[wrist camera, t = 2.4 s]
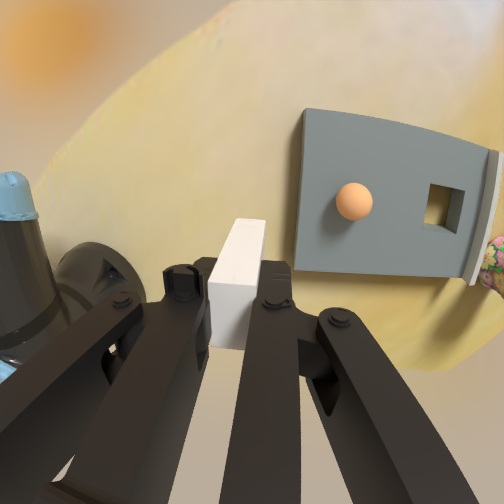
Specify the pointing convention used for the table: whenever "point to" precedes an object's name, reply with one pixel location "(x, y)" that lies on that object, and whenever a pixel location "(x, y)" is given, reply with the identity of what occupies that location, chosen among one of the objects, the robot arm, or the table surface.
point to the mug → (493, 266)
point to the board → (392, 198)
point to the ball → (354, 201)
